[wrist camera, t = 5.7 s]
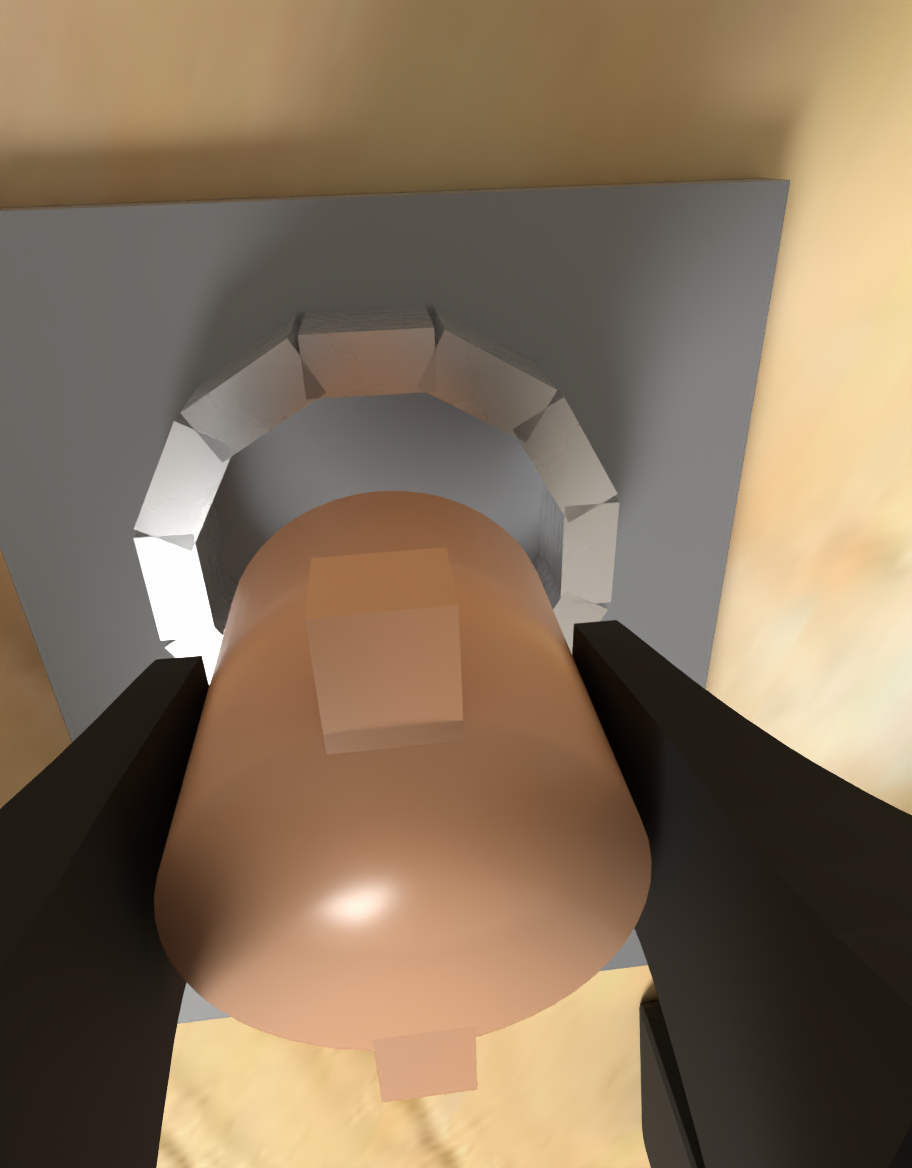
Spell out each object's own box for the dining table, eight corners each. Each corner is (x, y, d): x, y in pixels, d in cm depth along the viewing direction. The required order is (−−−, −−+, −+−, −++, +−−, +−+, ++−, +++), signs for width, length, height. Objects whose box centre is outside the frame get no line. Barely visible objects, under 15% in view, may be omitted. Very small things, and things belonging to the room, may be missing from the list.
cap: (268, 815, 14) (228, 1124, 9) (181, 427, 10) (49, 641, 6) (542, 785, 14) (624, 1067, 10) (554, 402, 10) (693, 584, 6)
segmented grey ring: (211, 708, 17) (195, 769, 16) (118, 320, 13) (81, 346, 11) (577, 674, 18) (600, 729, 16) (600, 296, 14) (634, 316, 12)
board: (182, 992, 24) (175, 1023, 23) (-90, 211, 13) (-122, 215, 12) (648, 935, 25) (659, 963, 24) (763, 178, 14) (790, 180, 13)
